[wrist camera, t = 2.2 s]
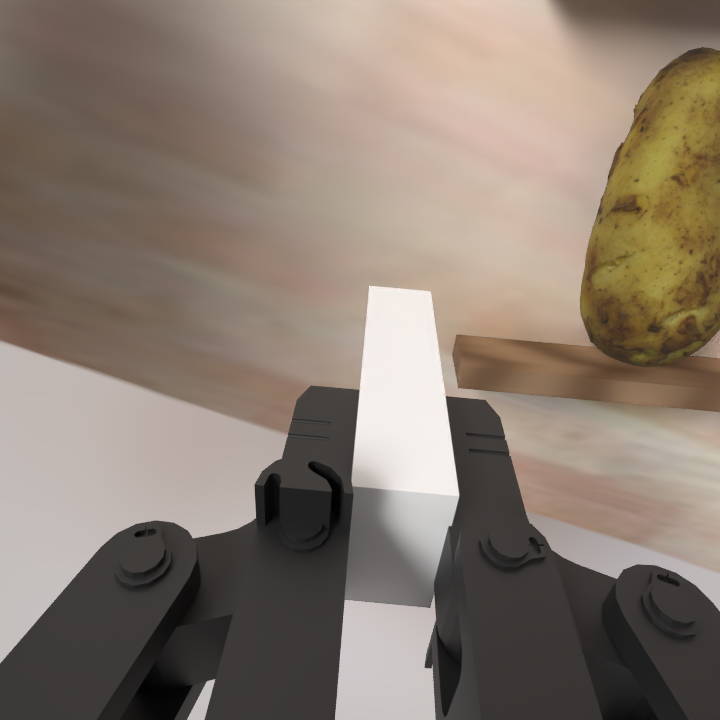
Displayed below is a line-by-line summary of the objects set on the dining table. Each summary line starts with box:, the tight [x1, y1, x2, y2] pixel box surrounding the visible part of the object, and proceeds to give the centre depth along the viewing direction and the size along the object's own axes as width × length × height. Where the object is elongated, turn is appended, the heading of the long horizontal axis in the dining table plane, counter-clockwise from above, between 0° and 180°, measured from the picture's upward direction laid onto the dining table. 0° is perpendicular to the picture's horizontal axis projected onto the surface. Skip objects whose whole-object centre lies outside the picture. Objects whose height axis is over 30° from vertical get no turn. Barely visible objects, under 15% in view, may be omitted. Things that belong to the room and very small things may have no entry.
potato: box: [580, 47, 720, 367], centre depth 23 cm, size 8×13×8 cm, turn 157°
